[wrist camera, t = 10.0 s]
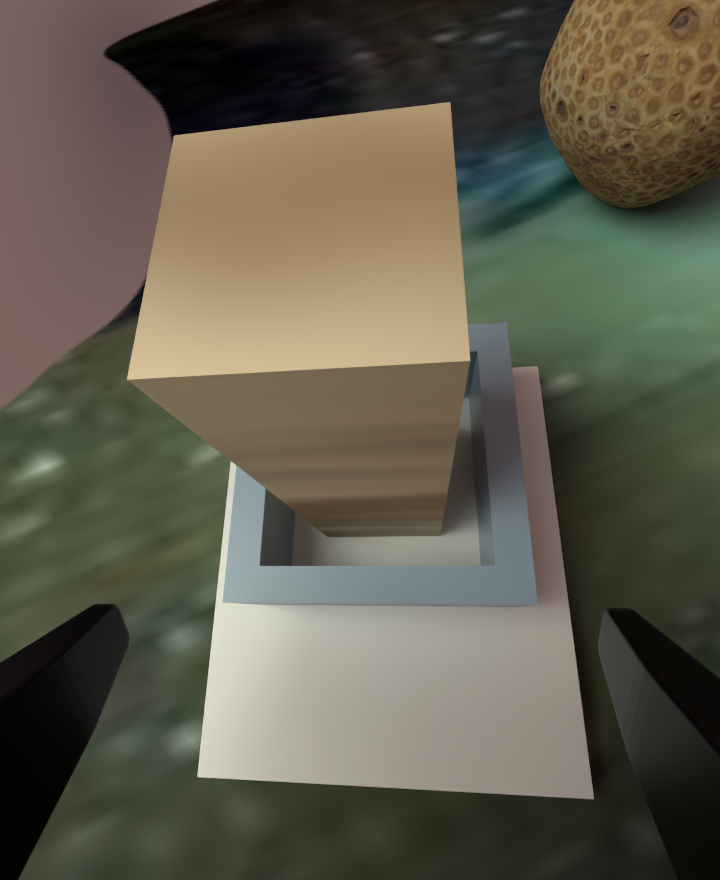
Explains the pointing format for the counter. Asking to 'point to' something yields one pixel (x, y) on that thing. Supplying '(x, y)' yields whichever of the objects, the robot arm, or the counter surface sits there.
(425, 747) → the well board
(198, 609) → the counter surface
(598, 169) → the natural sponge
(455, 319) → the wooden post
